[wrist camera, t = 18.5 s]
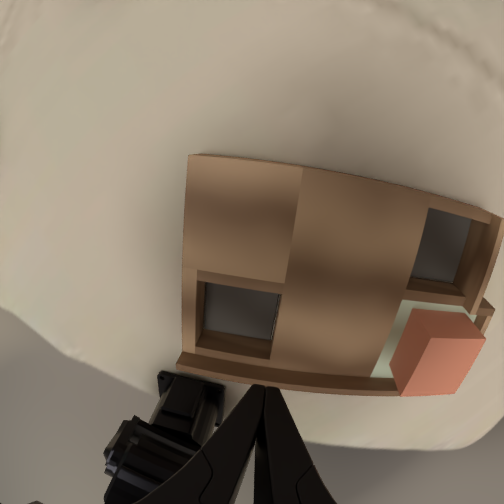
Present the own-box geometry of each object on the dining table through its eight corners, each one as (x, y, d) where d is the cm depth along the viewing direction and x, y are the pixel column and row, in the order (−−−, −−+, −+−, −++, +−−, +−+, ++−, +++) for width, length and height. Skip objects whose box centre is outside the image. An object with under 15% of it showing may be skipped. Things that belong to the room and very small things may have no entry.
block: (439, 364, 19) (454, 393, 16) (388, 364, 19) (400, 396, 16) (464, 312, 17) (486, 339, 14) (412, 308, 18) (430, 337, 14)
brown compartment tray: (437, 365, 22) (452, 393, 18) (191, 339, 23) (176, 369, 20) (496, 213, 17) (526, 227, 13) (200, 153, 18) (179, 155, 15)
